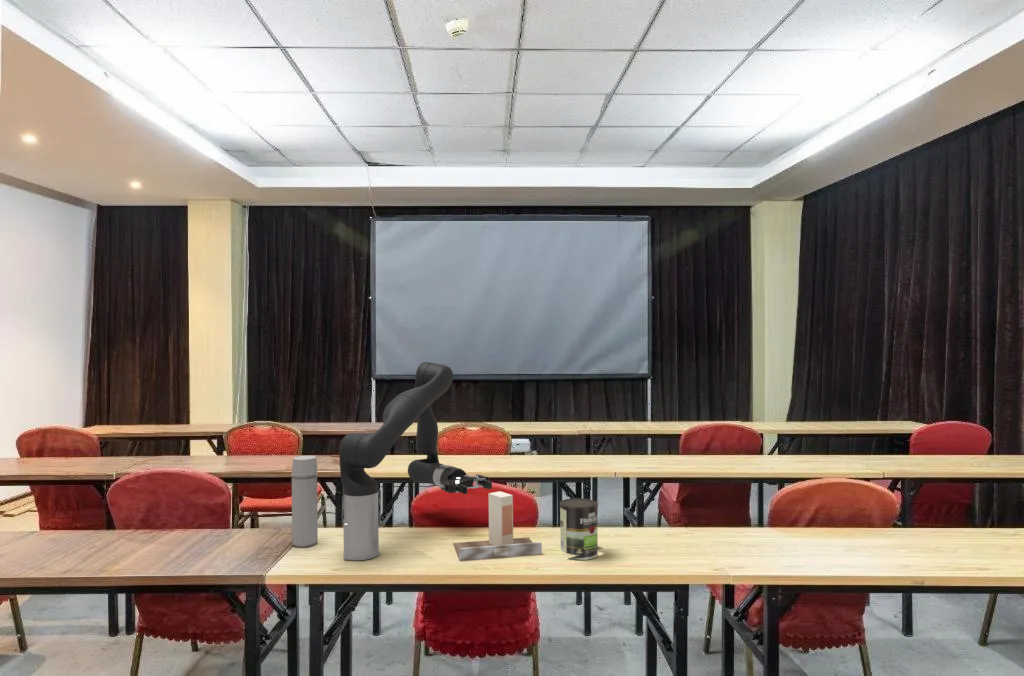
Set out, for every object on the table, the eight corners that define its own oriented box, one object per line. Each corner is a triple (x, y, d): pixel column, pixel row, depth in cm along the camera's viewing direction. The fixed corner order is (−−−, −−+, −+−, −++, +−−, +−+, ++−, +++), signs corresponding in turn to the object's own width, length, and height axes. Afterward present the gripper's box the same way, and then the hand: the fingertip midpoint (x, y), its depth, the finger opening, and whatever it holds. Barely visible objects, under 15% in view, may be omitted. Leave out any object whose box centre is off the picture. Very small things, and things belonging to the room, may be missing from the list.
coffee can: (606, 554, 177) (605, 502, 177) (579, 563, 170) (578, 509, 170) (578, 545, 185) (578, 496, 185) (552, 553, 178) (551, 502, 178)
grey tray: (459, 567, 169) (459, 549, 169) (452, 548, 184) (452, 532, 184) (542, 560, 173) (541, 543, 173) (528, 542, 188) (528, 526, 188)
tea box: (501, 548, 178) (501, 497, 178) (489, 543, 183) (488, 493, 183) (513, 545, 181) (513, 495, 181) (500, 540, 185) (500, 491, 185)
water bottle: (314, 548, 185) (313, 460, 185) (287, 548, 185) (286, 460, 185) (324, 538, 194) (323, 454, 194) (298, 538, 194) (297, 454, 194)
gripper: (429, 469, 200) (457, 479, 187) (468, 463, 208) (498, 471, 195) (430, 494, 200) (458, 505, 187) (469, 486, 208) (498, 496, 195)
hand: (478, 488), depth 191 cm, fingers open, 8 cm apart
